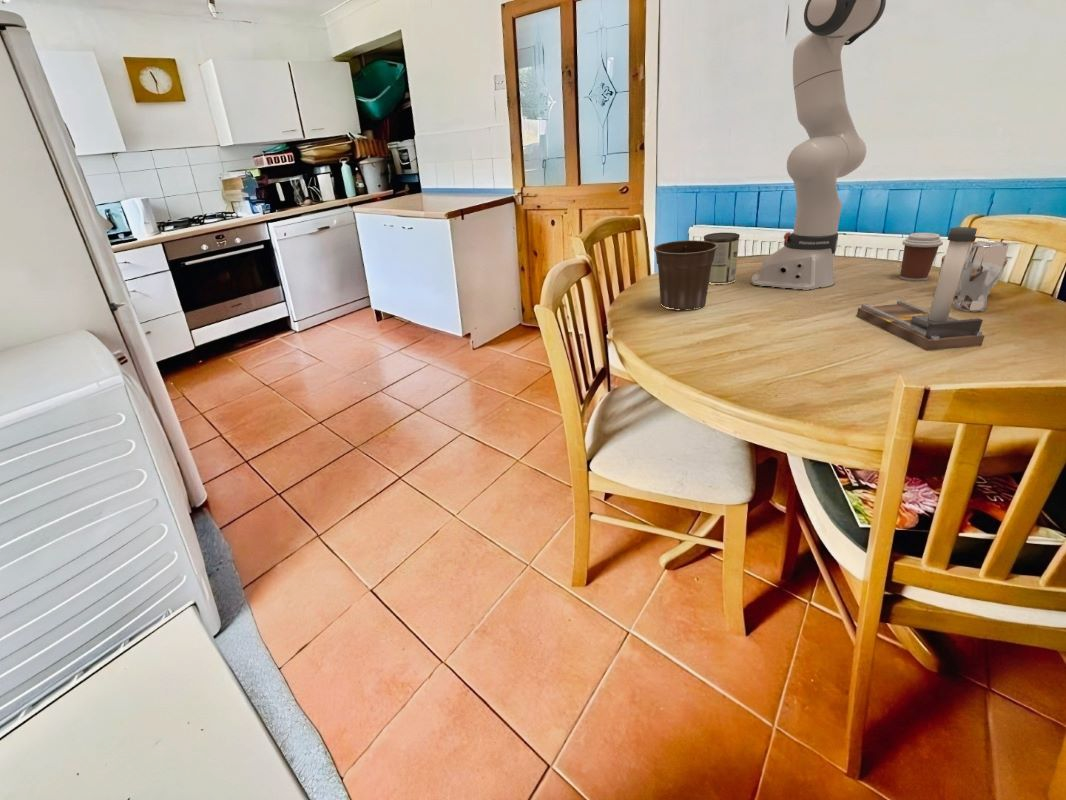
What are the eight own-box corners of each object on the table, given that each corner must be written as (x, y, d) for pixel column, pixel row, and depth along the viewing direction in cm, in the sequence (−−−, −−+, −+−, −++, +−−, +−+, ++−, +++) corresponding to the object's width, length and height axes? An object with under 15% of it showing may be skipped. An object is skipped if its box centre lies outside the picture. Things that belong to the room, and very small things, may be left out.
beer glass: (994, 312, 116) (1017, 245, 109) (959, 313, 117) (980, 247, 110) (977, 303, 122) (998, 240, 115) (944, 304, 123) (963, 241, 116)
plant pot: (689, 317, 131) (693, 254, 123) (640, 307, 142) (641, 249, 135) (724, 302, 139) (730, 242, 132) (676, 293, 151) (678, 238, 143)
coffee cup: (891, 280, 144) (901, 237, 139) (896, 273, 150) (906, 231, 145) (930, 283, 139) (943, 238, 133) (934, 275, 145) (946, 232, 139)
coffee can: (701, 277, 165) (704, 232, 159) (735, 277, 162) (739, 231, 155) (700, 285, 157) (703, 238, 150) (735, 285, 153) (740, 237, 147)
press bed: (856, 315, 121) (860, 295, 119) (901, 311, 121) (906, 291, 119) (927, 350, 101) (934, 326, 98) (981, 345, 101) (989, 321, 98)
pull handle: (910, 324, 108) (936, 228, 99) (938, 321, 108) (966, 225, 99) (931, 333, 102) (960, 232, 93) (960, 330, 102) (992, 229, 93)
